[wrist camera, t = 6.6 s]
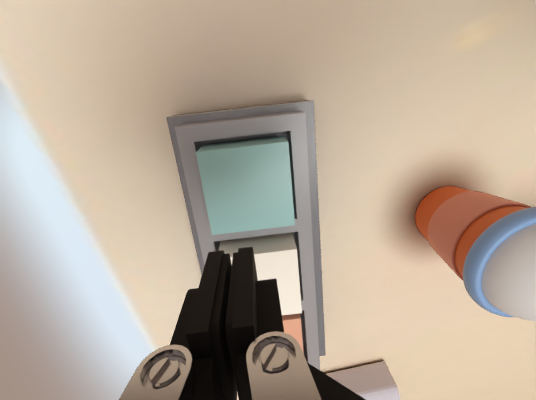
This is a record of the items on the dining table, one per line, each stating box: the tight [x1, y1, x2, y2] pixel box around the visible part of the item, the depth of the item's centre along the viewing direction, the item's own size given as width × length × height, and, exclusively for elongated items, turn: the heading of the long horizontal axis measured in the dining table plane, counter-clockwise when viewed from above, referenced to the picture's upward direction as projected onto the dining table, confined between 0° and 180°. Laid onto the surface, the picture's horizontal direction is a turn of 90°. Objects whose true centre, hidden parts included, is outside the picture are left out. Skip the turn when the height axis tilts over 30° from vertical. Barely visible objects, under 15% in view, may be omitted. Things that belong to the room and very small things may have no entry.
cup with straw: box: [415, 186, 536, 321], centre depth 22 cm, size 9×9×18 cm
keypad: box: [167, 100, 325, 370], centre depth 28 cm, size 28×12×6 cm, turn 6°
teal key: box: [196, 136, 295, 235], centre depth 22 cm, size 6×6×3 cm
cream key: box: [219, 232, 302, 315], centre depth 25 cm, size 6×6×3 cm
